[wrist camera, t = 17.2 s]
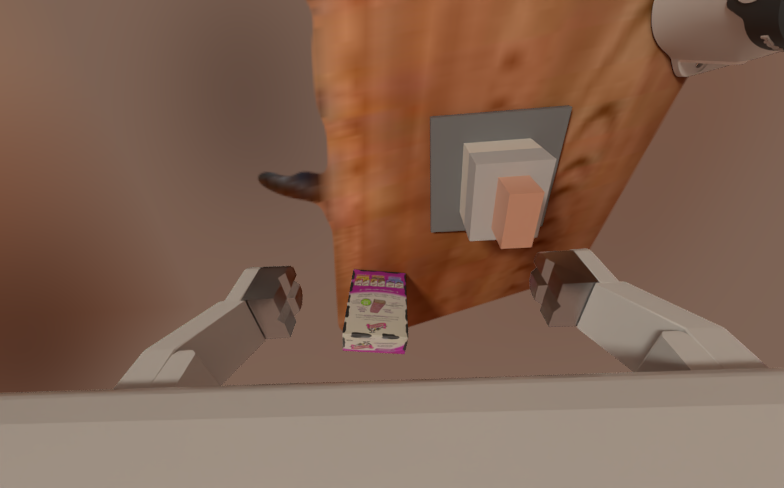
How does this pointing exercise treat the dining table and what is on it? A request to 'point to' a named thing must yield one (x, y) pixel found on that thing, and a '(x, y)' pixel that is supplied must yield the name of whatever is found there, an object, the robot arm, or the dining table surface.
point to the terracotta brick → (516, 211)
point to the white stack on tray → (490, 163)
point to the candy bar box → (376, 313)
